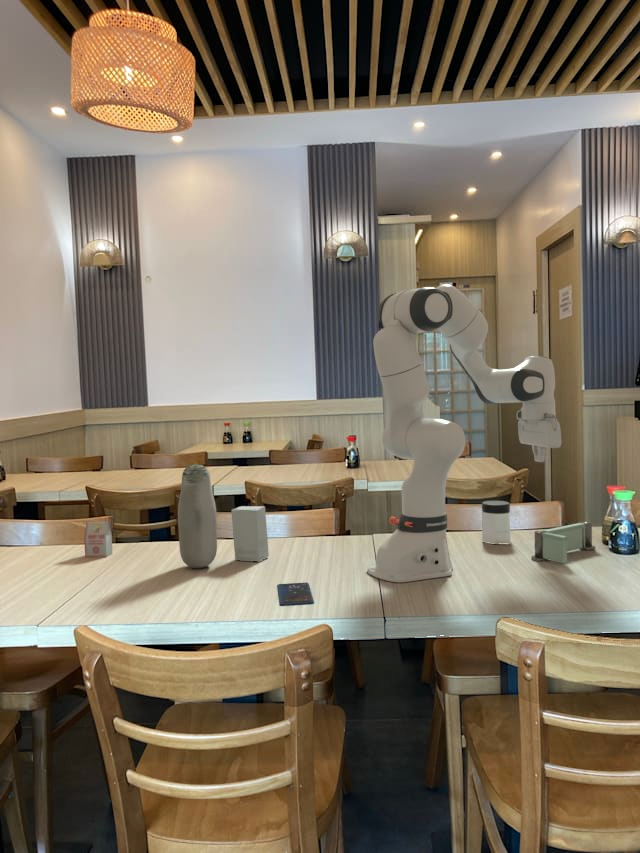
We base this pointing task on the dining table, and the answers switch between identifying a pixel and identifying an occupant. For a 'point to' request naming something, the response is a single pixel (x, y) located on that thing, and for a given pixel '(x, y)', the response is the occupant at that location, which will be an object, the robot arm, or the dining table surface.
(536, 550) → the post
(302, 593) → the smartphone
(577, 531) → the gate
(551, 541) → the fence panel
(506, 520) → the jar
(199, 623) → the dining table surface
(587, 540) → the hinge post
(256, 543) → the skincare box
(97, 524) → the white printed carton
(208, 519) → the grey tall rounded cylinder
